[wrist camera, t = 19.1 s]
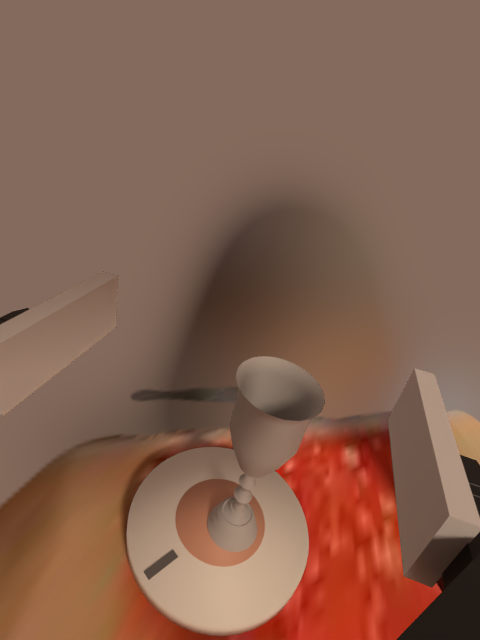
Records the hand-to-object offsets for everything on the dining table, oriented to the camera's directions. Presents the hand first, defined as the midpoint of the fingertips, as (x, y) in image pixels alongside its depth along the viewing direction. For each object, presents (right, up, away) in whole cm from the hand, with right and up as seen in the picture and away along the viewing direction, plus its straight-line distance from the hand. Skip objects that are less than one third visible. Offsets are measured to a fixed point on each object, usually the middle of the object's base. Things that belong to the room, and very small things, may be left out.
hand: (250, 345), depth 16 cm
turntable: (-3, -20, +22) cm, 30 cm away
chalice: (-1, -19, +21) cm, 28 cm away
